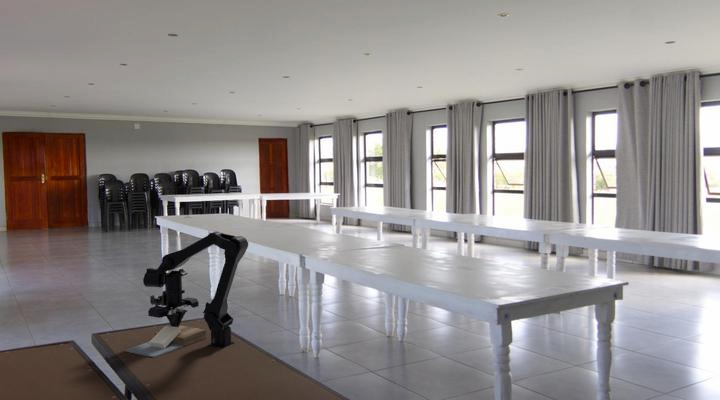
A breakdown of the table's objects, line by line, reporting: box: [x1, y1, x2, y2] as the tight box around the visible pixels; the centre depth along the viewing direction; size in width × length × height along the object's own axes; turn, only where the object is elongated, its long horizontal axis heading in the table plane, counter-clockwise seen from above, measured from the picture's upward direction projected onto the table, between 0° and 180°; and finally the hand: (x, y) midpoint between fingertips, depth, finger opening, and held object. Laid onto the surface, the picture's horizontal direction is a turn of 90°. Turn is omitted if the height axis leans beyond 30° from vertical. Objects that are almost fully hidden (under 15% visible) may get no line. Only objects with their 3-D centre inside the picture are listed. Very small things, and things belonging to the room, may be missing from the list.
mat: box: [124, 341, 184, 359], centre depth 198 cm, size 14×13×1 cm
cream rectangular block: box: [148, 325, 181, 348], centre depth 201 cm, size 6×9×2 cm, turn 157°
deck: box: [154, 324, 207, 347], centre depth 208 cm, size 14×11×3 cm
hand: (174, 330), depth 206 cm, fingers closed
